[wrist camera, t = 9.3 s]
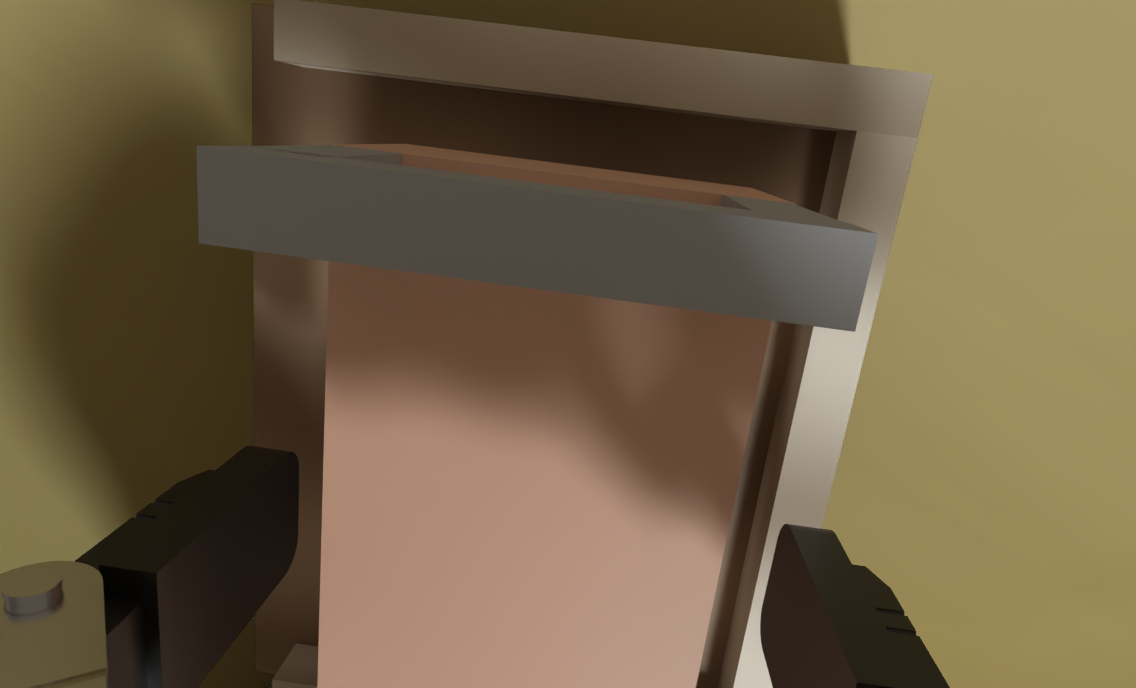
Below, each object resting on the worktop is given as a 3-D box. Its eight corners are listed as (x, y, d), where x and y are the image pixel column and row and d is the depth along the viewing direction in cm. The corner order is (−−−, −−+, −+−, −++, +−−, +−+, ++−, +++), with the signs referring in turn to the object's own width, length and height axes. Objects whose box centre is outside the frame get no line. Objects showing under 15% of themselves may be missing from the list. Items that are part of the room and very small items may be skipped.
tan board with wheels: (442, 143, 14) (196, 145, 6) (730, 179, 13) (879, 233, 6) (409, 627, 17) (219, 1059, 9) (643, 663, 17) (659, 1138, 9)
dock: (317, 27, 16) (216, -10, 12) (853, 91, 16) (933, 74, 12) (308, 595, 20) (229, 708, 16) (729, 660, 20) (756, 792, 16)
